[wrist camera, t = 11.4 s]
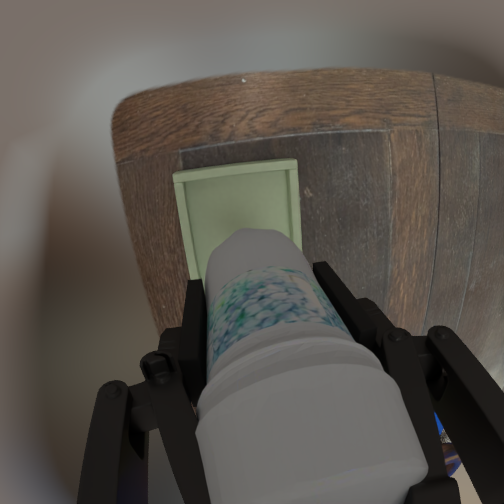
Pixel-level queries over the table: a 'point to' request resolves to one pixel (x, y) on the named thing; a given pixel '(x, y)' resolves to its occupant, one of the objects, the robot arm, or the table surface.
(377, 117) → the table surface
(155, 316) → the table surface
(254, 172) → the tray
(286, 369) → the bottle
